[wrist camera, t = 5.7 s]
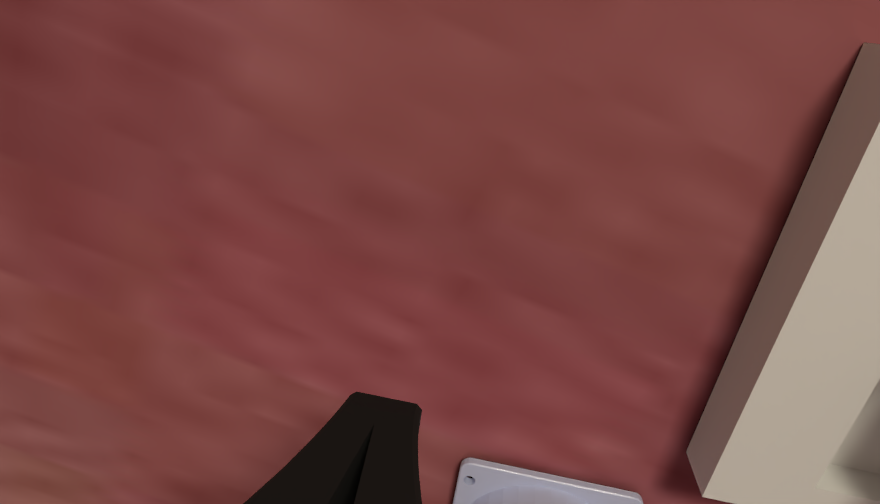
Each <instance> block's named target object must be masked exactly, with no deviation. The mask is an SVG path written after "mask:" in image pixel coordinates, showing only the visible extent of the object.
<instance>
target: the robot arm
mask: <svg viewBox="0 0 880 504" xmlns="http://www.w3.org/2000/svg"><path fill="white" fill-rule="evenodd" d="M421 413H422V410H421V408H420V407H419V406H418V405H417V404H414V403H410V402H405V401H400V400H395V399H390V398H385V397H380V396H375V395H370V394H365V393H360V392H355V393H353V394H352V395H350V396H349V398H348V399H347V400H346V401H345V403H344V404H343V405H342V406H341V407H340V409H339V410H338V411H337V412H336V413H335V414H334V416H333V417H332V418H331V419H330V420H329V421H328V422H327V424H326V425H325V426H324V427H323V428H322V429H321V430H320V431H319V432H318V433H317V434H316V435H315V436H314V438H313V439H312V440H311V441H310V442H309V443H308V444H307V445H306V446H305V447H304V448H303V449H302V450H301V451H300V452H299V453H298V454H297V455H296V456H295V457H294V458H293V459H292V460H291V461H290V462H289V463H288V464H287V465H286V466H285V467H284V468H283V469H281V470H280V471H279V472H278V473H277V474H276V475H275V476H274V477H273V478H272V479H271V480H269V481H268V482H267V483H266V484H265V485H264V486H263V487H262V488H261V489H259V490H258V491H257V492H256V493H255V494H254V495H253V496H252V497H251V498H249V499H248V500H247V501H246V502H245V503H244V504H422V501H421V491H420V481H419V468H418V432H419V426H420V419H421ZM466 476H471V477H473V478H468V477H466ZM453 504H643V501H642V498H641V496H640V495H639V494H638V493H635V492H631V491H627V490H622V489H617V488H613V487H608V486H603V485H598V484H594V483H589V482H584V481H579V480H575V479H570V478H565V477H561V476H556V475H551V474H546V473H542V472H537V471H532V470H527V469H523V468H518V467H513V466H509V465H504V464H499V463H494V462H490V461H485V460H480V459H476V458H466V459H464V460H463V461H462V462H461V465H460V470H459V475H458V480H457V485H456V490H455V495H454V499H453Z"/></svg>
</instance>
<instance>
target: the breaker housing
mask: <svg viewBox="0 0 880 504" xmlns="http://www.w3.org/2000/svg"><path fill="white" fill-rule="evenodd" d="M686 453H687V456H688V459H689V462H690V465H691V467H692V470H693V473H694V476H695V479H696V481H697V484H698V487H699V490H700V492H701V495H702V497H705V498H710V499H715V500H719V501H724V502H729V503H734V504H880V44H873V43H863V46H862V48H861V50H860V53H859V55H858V57H857V60H856V62H855V64H854V66H853V69H852V71H851V73H850V76H849V78H848V80H847V83H846V85H845V87H844V89H843V92H842V94H841V96H840V99H839V101H838V103H837V106H836V108H835V110H834V112H833V115H832V117H831V119H830V122H829V124H828V126H827V129H826V131H825V133H824V135H823V138H822V140H821V142H820V145H819V147H818V149H817V152H816V154H815V156H814V158H813V161H812V163H811V165H810V168H809V170H808V172H807V175H806V177H805V179H804V181H803V184H802V186H801V188H800V191H799V193H798V195H797V198H796V200H795V202H794V204H793V207H792V209H791V211H790V214H789V216H788V218H787V221H786V223H785V225H784V227H783V230H782V232H781V234H780V237H779V239H778V241H777V244H776V246H775V248H774V250H773V253H772V255H771V257H770V260H769V262H768V264H767V267H766V269H765V271H764V273H763V276H762V278H761V280H760V283H759V285H758V287H757V290H756V292H755V294H754V296H753V299H752V301H751V303H750V306H749V308H748V310H747V313H746V315H745V317H744V319H743V322H742V324H741V326H740V329H739V331H738V333H737V336H736V338H735V340H734V342H733V345H732V347H731V349H730V352H729V354H728V356H727V359H726V361H725V363H724V365H723V368H722V370H721V372H720V375H719V377H718V379H717V382H716V384H715V386H714V388H713V391H712V393H711V395H710V398H709V400H708V402H707V405H706V407H705V409H704V411H703V414H702V416H701V418H700V421H699V423H698V425H697V428H696V430H695V432H694V434H693V437H692V439H691V441H690V444H689V446H688V448H687V451H686Z"/></svg>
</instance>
